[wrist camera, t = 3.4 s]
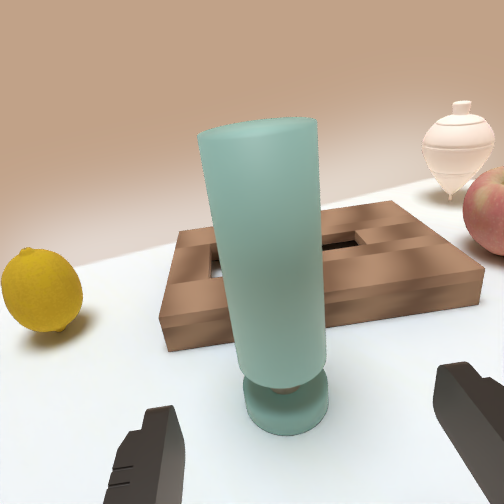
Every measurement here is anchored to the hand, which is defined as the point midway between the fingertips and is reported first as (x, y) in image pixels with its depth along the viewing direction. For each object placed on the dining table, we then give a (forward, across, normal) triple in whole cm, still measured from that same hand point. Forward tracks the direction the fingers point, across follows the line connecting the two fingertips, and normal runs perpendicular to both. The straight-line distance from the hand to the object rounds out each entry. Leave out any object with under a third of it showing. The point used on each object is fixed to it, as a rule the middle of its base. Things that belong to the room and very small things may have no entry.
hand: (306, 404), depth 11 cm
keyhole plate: (+22, -4, +9) cm, 24 cm away
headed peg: (+8, 0, +9) cm, 12 cm away
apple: (+21, -23, +9) cm, 33 cm away
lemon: (+19, +18, +9) cm, 28 cm away
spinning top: (+35, -26, +9) cm, 45 cm away
